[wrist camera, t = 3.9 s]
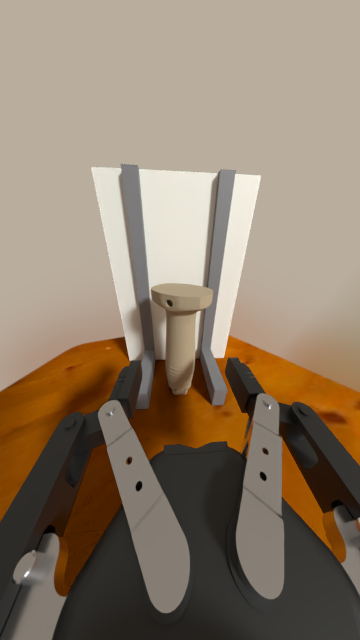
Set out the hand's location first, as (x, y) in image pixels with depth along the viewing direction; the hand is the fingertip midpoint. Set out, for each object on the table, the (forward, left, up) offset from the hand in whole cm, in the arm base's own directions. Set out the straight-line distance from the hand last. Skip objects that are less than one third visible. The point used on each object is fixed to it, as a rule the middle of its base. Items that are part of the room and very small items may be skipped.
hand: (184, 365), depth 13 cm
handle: (0, +5, -9) cm, 10 cm away
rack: (0, +7, -9) cm, 11 cm away
